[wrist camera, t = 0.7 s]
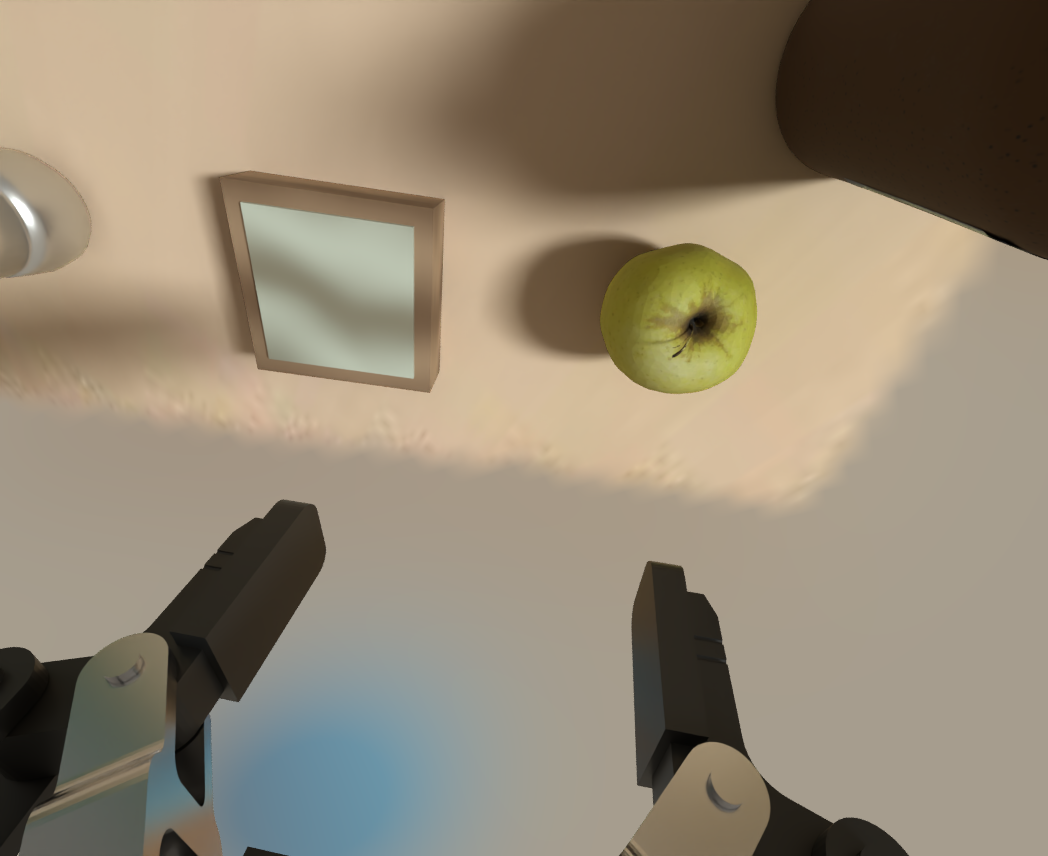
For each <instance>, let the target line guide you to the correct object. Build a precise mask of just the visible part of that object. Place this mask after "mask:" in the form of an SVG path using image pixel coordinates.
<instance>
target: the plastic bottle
mask: <svg viewBox="0 0 1048 856" xmlns="http://www.w3.org/2000/svg"><path fill="white" fill-rule="evenodd" d="M90 235H91V219H90V214H89V212H88V209H87V207H86V204H85V203H84V201H83V199H82V197H81V195H80V194H79V193H78V191H77V190H76V189H75V187H74V186H73V185H72V184H71V183H70V182H69V181H68V180H67V179H66V178H65V177H64V176H63V175H62V174H60V173H59V172H58V171H57V170H55V169H54V168H52V167H50V166H49V165H47V164H46V163H44V162H42V161H40V160H39V159H37V158H35V157H33V156H31V155H28V154H26V153H24V152H21V151H17V150H13V149H7V148H0V279H1V278H11V277H23V276H29V275H35V274H41V273H47V272H53V271H56V270H58V269H60V268H62V267H64V266H66V265H67V264H69V263H71V262H72V261H74V260H76V259H77V258H79V257H80V256H81V255H82V254H83V253H84V251H85V250H86V248H87V246H88V243H89V239H90Z"/></svg>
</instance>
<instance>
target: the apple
mask: <svg viewBox="0 0 1048 856" xmlns="http://www.w3.org/2000/svg"><path fill="white" fill-rule="evenodd" d="M756 320H757V304H756V296H755V289H754V286H753V282H752V280H751V278H750V277H749V275H748V274H747V272H746V271H745V270H744V269H743V268H742V267H740V266H739V265H738V264H736V263H734V262H733V261H731V260H729V259H727V258H725V257H724V256H722V255H720V254H719V253H717V252H715V251H713V250H712V249H709V248H707V247H705V246H702V245H698V244H692V243H685V244H678V245H674V246H669V247H665V248H661V249H657V250H653V251H650V252H646V253H643V254H640V255H638V256H636V257H634V258H633V259H631V260H630V261H629V262H627V263H626V264H625V265H624V266H623V267H622V268H621V269H620V270H619V271H618V273H617V274H616V275H615V277H614V278H613V279H612V281H611V282H610V284H609V286H608V288H607V291H606V294H605V296H604V300H603V304H602V309H601V314H600V326H601V332H602V335H603V338H604V341H605V345H606V348H607V350H608V353H609V355H610V357H611V359H612V360H613V362H614V364H615V365H616V366H617V367H618V369H619V370H620V371H622V372H623V373H624V374H625V375H626V376H627V377H628V378H629V379H631V380H632V381H633V382H635V383H637V384H639V385H641V386H643V387H645V388H647V389H650V390H654V391H659V392H663V393H670V394H682V393H693V392H699V391H702V390H706V389H709V388H711V387H713V386H715V385H718V384H719V383H721V382H723V381H725V380H726V379H728V378H729V377H730V376H732V375H733V374H734V373H735V372H736V371H737V370H738V369H739V367H740V366H741V364H742V362H743V361H744V359H745V357H746V355H747V353H748V350H749V348H750V345H751V342H752V339H753V336H754V332H755V327H756Z"/></svg>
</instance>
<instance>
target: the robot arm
mask: <svg viewBox="0 0 1048 856" xmlns="http://www.w3.org/2000/svg"><path fill="white" fill-rule="evenodd" d="M325 554H326V546H325V541H324V537H323V533H322V529H321V524H320V520H319V516H318V512H317V508H316V507H315V506H314V505H313V504H308V503H301V502H295V501H289V500H280V501H278V502H277V503H276V504H275V505H274V506H273V508H272V509H271V510H270V511H269V512H268V513H267V515H266V516H265V517H264V518H263V519H260V518H254V519H252V520H251V521H249V522H248V523H247V524H245V525H243V526H242V527H240V528H239V529H237V530H236V531H234V532H233V533H232V534H231V535H230V536H229V537H228V538H227V540H226V541H225V542H224V543H223V544H222V545H221V546H220V548H219V549H218V551H217V553H216V554H214V555H213V556H212V557H211V558H210V559H209V560H208V561H207V562H206V564H205V566H204V568H203V569H200V570H199V571H198V573H197V574H196V575H195V576H194V577H193V578H192V580H191V581H190V582H189V583H188V584H187V585H186V586H185V587H184V588H183V590H182V591H181V592H180V593H179V594H178V595H177V596H176V597H175V599H174V600H173V601H172V602H171V603H170V604H169V605H168V607H167V608H166V609H165V610H164V611H163V612H162V613H161V614H160V616H159V617H158V618H157V619H156V620H155V621H154V622H153V624H152V625H151V626H150V627H149V628H148V629H147V630H146V631H144V632H143V633H138V634H133V635H129V636H126V637H123V638H121V639H119V640H117V641H115V642H113V643H111V644H109V645H108V646H106V647H105V648H103V649H102V650H100V651H99V652H98V653H97V654H96V655H94V656H91V657H83V658H75V659H68V660H60V661H52V662H44V663H40V662H39V660H38V659H37V658H36V657H35V656H34V655H33V654H32V653H31V652H30V651H29V650H27V649H25V648H20V647H10V648H3V649H0V856H17V855H18V853H19V856H222V847H221V840H220V835H219V832H218V828H217V825H216V821H215V817H214V810H213V786H212V785H213V784H212V743H211V718H210V714H209V713H210V711H211V710H212V708H213V707H214V705H215V704H216V702H217V701H218V699H219V698H221V699H226V700H231V701H236V702H239V701H240V699H241V698H242V696H243V694H244V693H245V691H246V690H247V688H248V686H249V685H250V683H251V682H252V680H253V678H254V677H255V675H256V673H257V672H258V670H259V669H260V667H261V666H262V664H263V662H264V661H265V659H266V657H267V656H268V654H269V653H270V651H271V650H272V648H273V646H274V645H275V643H276V641H277V640H278V638H279V637H280V635H281V633H282V632H283V630H284V629H285V627H286V625H287V624H288V622H289V620H290V619H291V617H292V616H293V614H294V612H295V611H296V609H297V608H298V606H299V605H300V603H301V601H302V600H303V598H304V597H305V595H306V593H307V592H308V590H309V588H310V587H311V585H312V584H313V582H314V580H315V579H316V577H317V576H318V574H319V572H320V571H321V568H322V566H323V563H324V560H325ZM632 650H633V651H632V653H633V681H634V708H635V709H634V710H635V737H636V765H637V785H638V786H643V787H648V788H652V789H653V805H654V806H653V808H652V809H651V811H650V812H649V814H648V815H647V817H646V818H645V820H644V821H643V823H642V824H641V825H640V827H639V828H638V830H637V831H636V833H635V834H634V836H633V837H632V839H631V840H630V842H629V843H628V845H627V846H626V848H625V849H624V850H623V852H622V853H621V854H620V855H619V856H909V855H908V854H907V853H906V852H905V850H904V849H903V848H902V847H901V846H900V845H899V844H898V843H897V842H896V841H895V840H894V839H893V838H892V837H891V836H890V835H888V834H887V833H886V832H885V831H883V830H882V829H880V828H879V827H877V826H876V825H874V824H871V823H870V822H868V821H865V820H862V819H858V818H843V819H840V820H838V821H837V822H835V823H834V824H833V823H832V822H830V821H828V820H826V819H824V818H822V817H821V816H819V815H817V814H815V813H814V812H812V811H810V810H808V809H806V808H805V807H803V806H801V805H799V804H797V803H796V802H794V801H792V800H790V799H788V798H787V797H785V796H784V795H782V794H781V793H779V792H778V791H777V790H776V789H774V788H773V787H772V786H771V785H770V784H769V783H768V782H767V781H766V780H765V779H764V778H763V777H762V776H761V774H760V773H759V772H758V771H757V769H756V768H755V766H754V765H753V763H752V762H751V759H750V758H749V756H748V754H747V751H746V749H745V746H744V742H743V738H742V734H741V729H740V724H739V719H738V714H737V709H736V704H735V700H734V694H733V689H732V685H731V680H730V675H729V670H728V665H726V655H725V651H724V646H723V645H722V636H721V631H720V626H719V621H718V617H717V615H716V613H715V611H714V610H713V608H712V607H711V605H710V603H709V602H708V600H707V599H706V597H705V595H704V594H698V593H693V592H687V589H686V582H685V576H684V571H683V568H682V567H681V566H678V565H672V564H666V563H660V562H653V561H648V562H647V564H646V567H645V570H644V573H643V576H642V579H641V582H640V585H639V588H638V591H637V595H636V598H635V601H634V605H633V613H632ZM243 856H287V855H282V854H278V853H274V852H269V851H265V850H261V849H256V848H252V847H247V849H246V851H245V853H244V855H243Z"/></svg>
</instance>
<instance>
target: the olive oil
mask: <svg viewBox="0 0 1048 856" xmlns="http://www.w3.org/2000/svg"><path fill="white" fill-rule="evenodd" d="M776 111H777V118H778V123H779V126H780V130H781V133H782V135H783V137H784V140H785V142H786V143H787V145H788V147H789V148H790V150H791V151H792V152H793V154H794V155H795V156H796V157H797V158H798V159H799V160H800V161H801V162H802V163H804V164H805V165H806V166H808V167H809V168H811V169H813V170H815V171H817V172H819V173H822V174H824V175H827V176H830V177H833V178H836V179H839V180H842V181H845V182H848V183H851V184H853V185H856V186H858V187H861V188H864V189H867V190H870V191H873V192H875V193H878V194H881V195H883V196H886V197H888V198H891V199H894V200H896V201H899V202H901V203H904V204H907V205H909V206H912V207H914V208H917V209H920V210H922V211H925V212H927V213H930V214H933V215H935V216H938V217H940V218H943V219H945V220H948V221H950V222H953V223H955V224H958V225H960V226H963V227H965V228H968V229H970V230H972V231H975V232H977V233H980V234H982V235H985V236H987V237H990V238H992V239H994V240H997V241H999V242H1002V243H1004V244H1007V245H1009V246H1012V247H1014V248H1017V249H1020V250H1022V251H1024V252H1027V253H1030V254H1032V255H1035V256H1038V257H1040V258H1043V259H1047V260H1048V0H811V1H810V2H809V3H808V5H807V6H806V8H805V9H804V11H803V13H802V14H801V16H800V18H799V19H798V21H797V23H796V25H795V27H794V29H793V31H792V33H791V35H790V38H789V40H788V42H787V45H786V48H785V50H784V53H783V57H782V60H781V64H780V68H779V73H778V78H777V86H776Z"/></svg>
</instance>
